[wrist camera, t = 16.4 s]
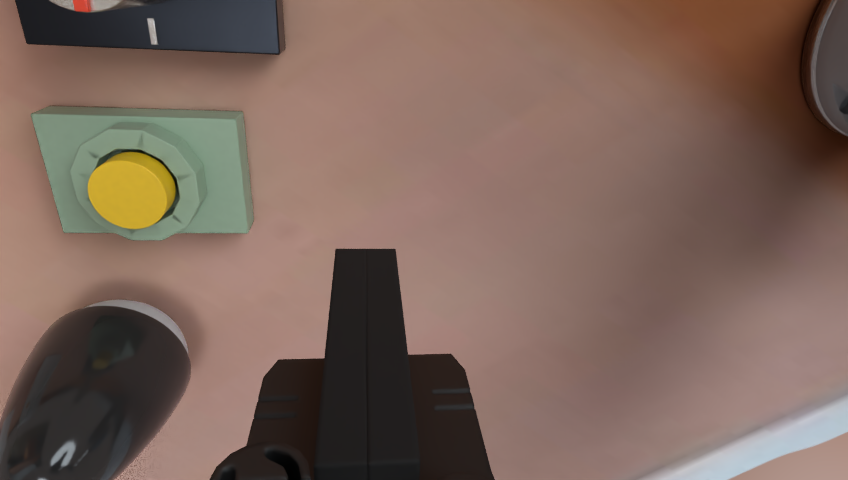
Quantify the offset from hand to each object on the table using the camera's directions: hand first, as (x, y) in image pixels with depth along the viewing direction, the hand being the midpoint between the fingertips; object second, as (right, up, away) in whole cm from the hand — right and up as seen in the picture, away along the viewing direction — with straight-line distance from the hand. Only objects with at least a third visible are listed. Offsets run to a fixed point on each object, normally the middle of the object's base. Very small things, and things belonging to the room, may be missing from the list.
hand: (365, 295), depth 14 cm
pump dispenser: (-21, -6, +28) cm, 36 cm away
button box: (-17, +6, +22) cm, 29 cm away
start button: (-16, +5, +19) cm, 26 cm away
